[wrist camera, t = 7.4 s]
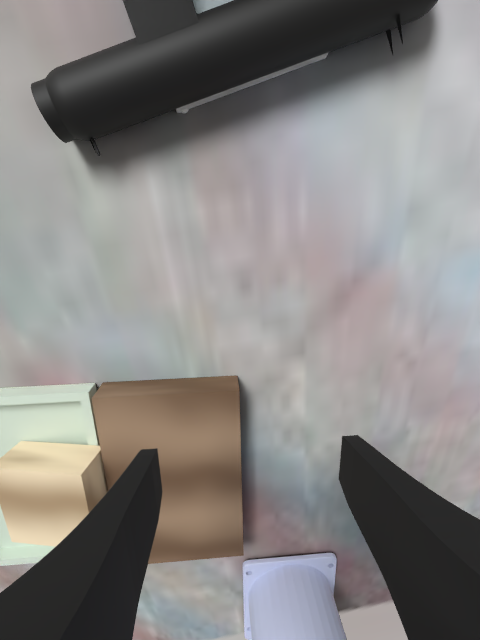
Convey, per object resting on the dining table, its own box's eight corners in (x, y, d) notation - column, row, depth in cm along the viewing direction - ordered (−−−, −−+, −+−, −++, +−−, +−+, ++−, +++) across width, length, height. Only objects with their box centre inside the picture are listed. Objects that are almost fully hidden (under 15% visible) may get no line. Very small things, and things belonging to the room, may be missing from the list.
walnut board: (241, 530, 25) (243, 555, 23) (129, 539, 25) (121, 566, 23) (237, 375, 21) (239, 390, 19) (103, 382, 21) (91, 398, 19)
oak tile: (116, 516, 22) (96, 550, 20) (39, 509, 23) (11, 541, 20) (103, 445, 20) (80, 474, 18) (21, 440, 21) (-12, 468, 19)
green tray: (122, 540, 25) (118, 555, 24) (-9, 551, 24) (-20, 567, 23) (95, 382, 21) (88, 392, 19) (-63, 391, 20) (-80, 401, 19)
